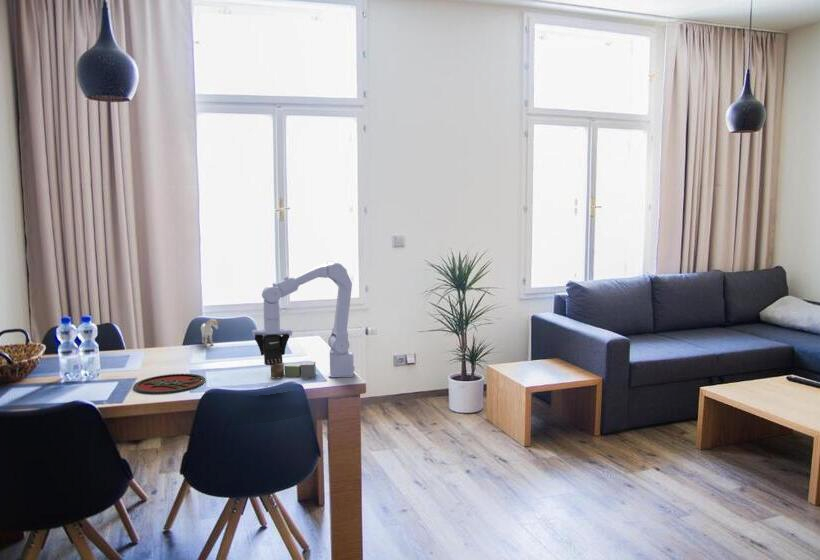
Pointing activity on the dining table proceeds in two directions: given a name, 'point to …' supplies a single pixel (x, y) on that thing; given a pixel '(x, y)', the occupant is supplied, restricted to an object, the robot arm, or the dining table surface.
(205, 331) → the unicorn figurine
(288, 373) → the olive block
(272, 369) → the walnut cylinder
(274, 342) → the battery
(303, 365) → the charcoal cube
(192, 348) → the dining table surface
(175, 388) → the decorative plate
